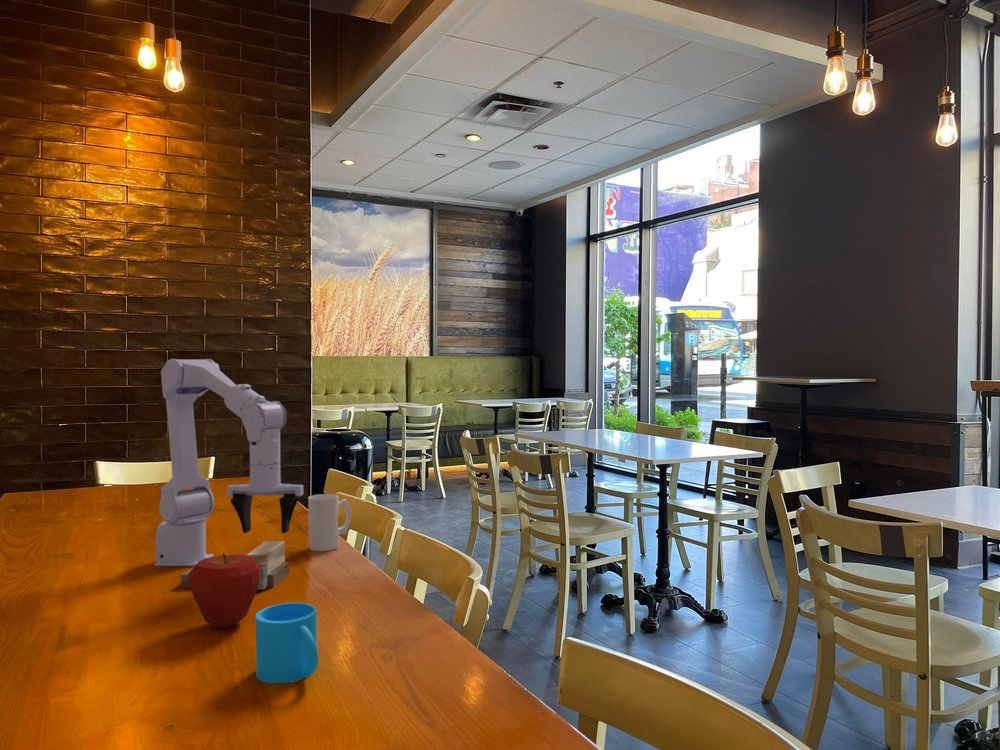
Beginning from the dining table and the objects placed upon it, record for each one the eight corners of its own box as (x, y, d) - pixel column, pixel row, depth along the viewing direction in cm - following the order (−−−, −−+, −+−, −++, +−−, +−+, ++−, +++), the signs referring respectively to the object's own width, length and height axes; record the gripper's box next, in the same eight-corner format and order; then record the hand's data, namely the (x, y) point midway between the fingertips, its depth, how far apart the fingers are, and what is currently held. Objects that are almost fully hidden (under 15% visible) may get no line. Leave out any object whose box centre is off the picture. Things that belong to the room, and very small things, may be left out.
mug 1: (245, 670, 98) (245, 612, 98) (299, 653, 103) (298, 598, 103) (287, 700, 89) (286, 636, 89) (343, 679, 95) (342, 619, 95)
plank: (181, 587, 135) (180, 574, 135) (202, 573, 144) (202, 561, 144) (273, 587, 134) (273, 574, 134) (289, 573, 143) (289, 561, 143)
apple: (217, 643, 107) (216, 565, 107) (175, 630, 113) (173, 555, 113) (275, 620, 116) (274, 548, 116) (233, 609, 122) (232, 540, 122)
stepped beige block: (242, 589, 132) (242, 557, 132) (265, 570, 144) (265, 541, 144) (263, 589, 132) (263, 557, 131) (285, 570, 144) (284, 541, 143)
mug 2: (312, 553, 158) (312, 500, 158) (305, 546, 164) (304, 495, 164) (356, 547, 163) (355, 496, 163) (347, 541, 169) (346, 491, 169)
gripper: (220, 466, 135) (221, 536, 135) (295, 466, 134) (295, 536, 134) (235, 461, 142) (236, 528, 142) (306, 461, 141) (307, 528, 141)
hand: (265, 531), depth 139 cm, fingers open, 7 cm apart
